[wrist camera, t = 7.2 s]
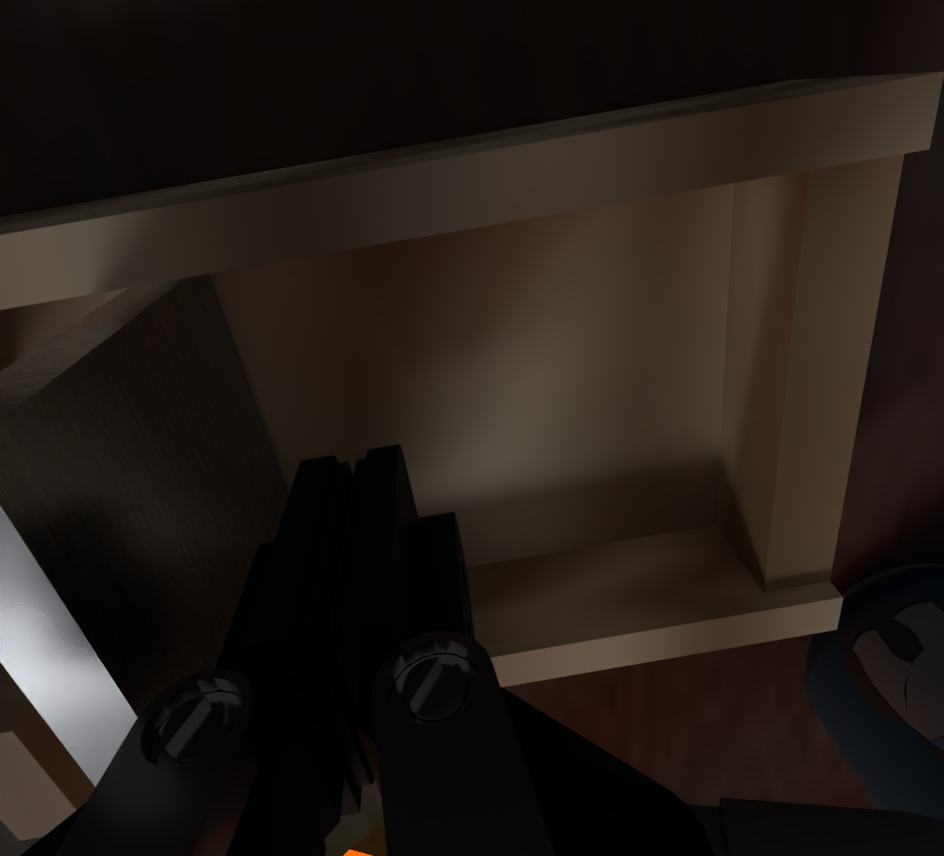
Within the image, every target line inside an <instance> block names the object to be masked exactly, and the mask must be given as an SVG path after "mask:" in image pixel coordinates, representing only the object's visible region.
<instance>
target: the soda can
mask: <svg viewBox="0 0 944 856" xmlns="http://www.w3.org/2000/svg"><path fill="white" fill-rule="evenodd" d="M841 595H842V596H843V602H842V607H841V612H840V617H839V623H838V628H837V630H832V631H827V632H821V633H815V634H810V635H809V638H808V642H807V689H808V695H809V699H810V702H811V705H812V707H813V709H814V711H815V713H816V714H817V716H818V717H819V719H820V720H821V722H822V723H823V725H824V726H825V728H826V729H827V731H828V732H829V734H830V736H831V737H832V739H833V740H834V742H835V743H836V745H837V746H838V748H839V749H840V751H841V752H842V754H843V755H844V757H845V758H846V760H847V762H848V763H849V765H850V766H851V768H852V769H853V771H854V772H855V774H856V775H857V777H858V778H859V780H860V781H861V783H862V784H863V786H864V787H865V789H866V791H867V792H868V794H869V795H870V797H871V798H872V800H873V801H874V803H875V804H876V806H877V807H878V809H879V810H890V811H904V812H911V813H915V814H920V815H924V816H928V817H932V818H936V819H939V820H941V821H943V822H944V565H941V564H933V563H918V564H909V565H904V566H899V567H895V568H892V569H888V570H885V571H882V572H880V573H877V574H875V575H873V576H870V577H868V578H866V579H864V580H862V581H860V582H859V583H857V584H855V585H854V586H852V587H851V588H849V589H848V590H846V591H845V592H843V593H842V594H841Z"/></svg>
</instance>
